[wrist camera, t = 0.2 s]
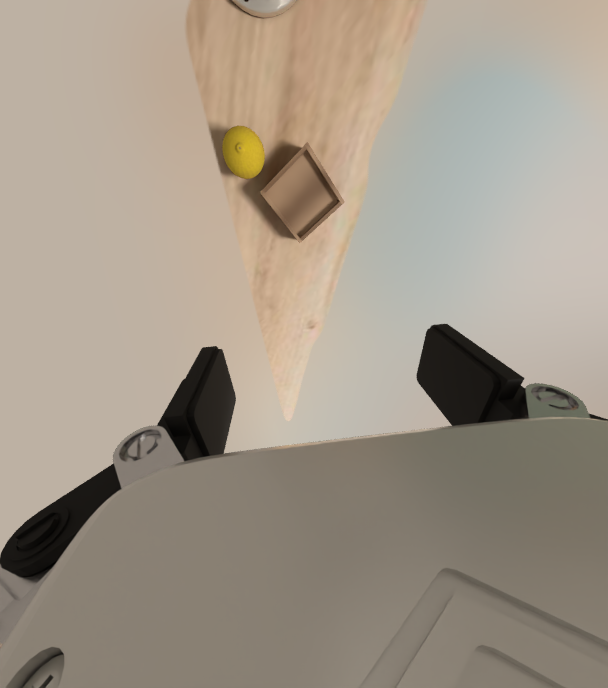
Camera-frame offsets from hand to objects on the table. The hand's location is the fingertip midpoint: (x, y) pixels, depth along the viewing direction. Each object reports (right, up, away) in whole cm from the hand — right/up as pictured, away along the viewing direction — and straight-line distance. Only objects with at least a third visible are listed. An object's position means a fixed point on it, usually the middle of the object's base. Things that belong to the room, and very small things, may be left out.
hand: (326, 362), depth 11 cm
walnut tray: (-2, +25, +28) cm, 37 cm away
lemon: (-10, +29, +25) cm, 39 cm away
